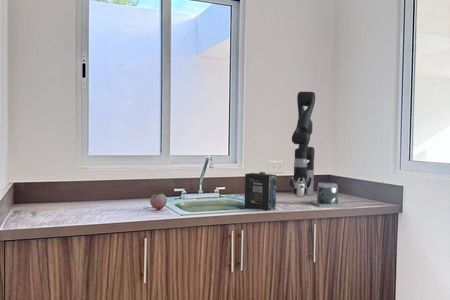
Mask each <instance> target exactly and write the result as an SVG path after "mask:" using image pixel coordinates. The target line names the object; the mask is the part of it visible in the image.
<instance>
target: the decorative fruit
mask: <svg viewBox="0 0 450 300" xmlns="http://www.w3.org/2000/svg"><path fill="white" fill-rule="evenodd" d="M149 203H150V205H151V207H152V208H154V209H155V210H158V211H161V210H162V209H163V208H165V207H166V205H167V203H168V198H167V196H166V194H165V193H163V192H160V191H158V192H157V193H154V194H153V195H152V196H151V197H150V200H149Z"/></svg>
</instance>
